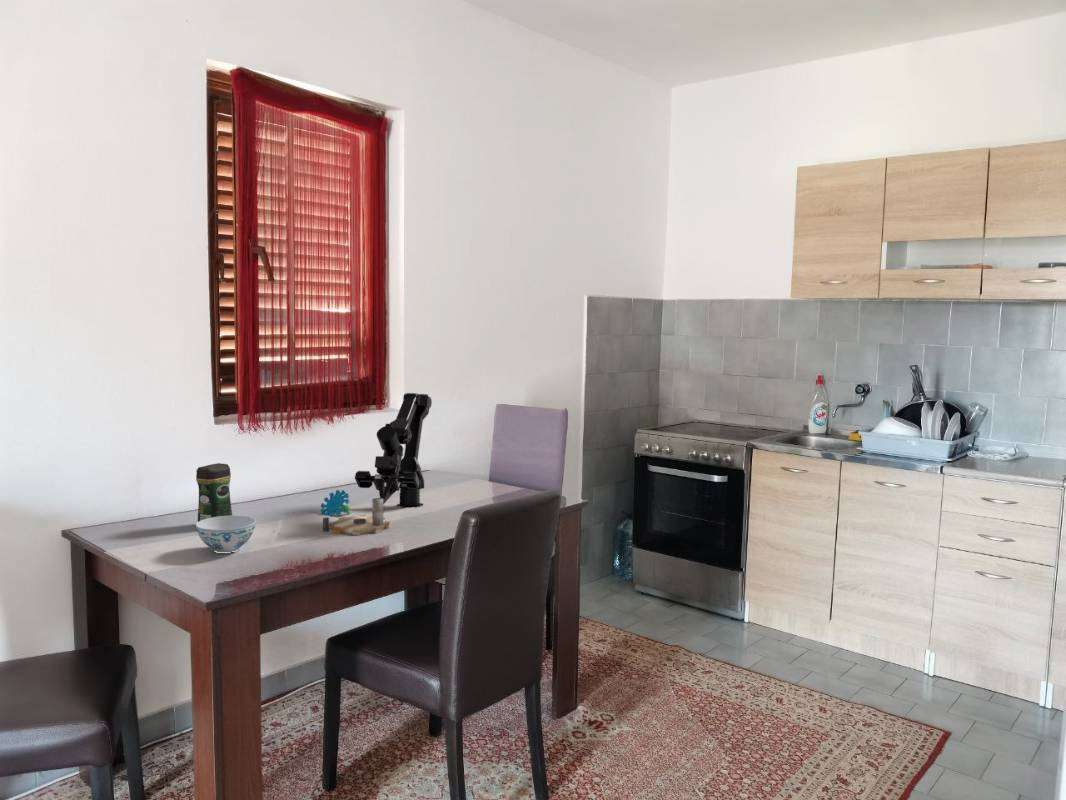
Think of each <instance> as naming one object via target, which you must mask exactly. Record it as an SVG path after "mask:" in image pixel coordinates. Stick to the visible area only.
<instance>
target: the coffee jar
mask: <svg viewBox="0 0 1066 800" xmlns="http://www.w3.org/2000/svg"><path fill="white" fill-rule="evenodd" d="M231 474H232V473H231V468H230V466H229V464H227V463H222V462H221V463H220V462H219V463H218V462H217V463H212V464H208V465H207V464H206V465H202V466H199V467H198V468H197V469H196V475H195V477H196V478H195V479H196V483H197V487H198V505H197V507H198V508H197V510H198V512H197V522H199V521H201V520H204V519H208V518H213V517H219V516H233V512H232V511H233V510H232V502H231V493H230V482H231V477H232V475H231Z"/></svg>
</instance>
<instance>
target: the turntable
mask: <svg viewBox="0 0 1066 800" xmlns="http://www.w3.org/2000/svg"><path fill="white" fill-rule="evenodd" d="M371 506H372V508H371V511H372V514H371V515H372V516H369V515H368V516H367V515H366V514H364V515H363V514H362V515H361V514H360V515H358V516H357V515H356V516H348V517H346V516H341V517H339V518H338V519H336V520H335V521H329V530H330V529H333V533H335V534H346V535H352V536H360V535H362V534H363V535H364V534H371V533H373V534H374V533H375V534H378V533H382V531H383V530H384V529H389V528H390V525H391V524H390V523H391V522H390V521H389V520H385V517H384V505H383V498H380V497H375V498H372V504H371Z"/></svg>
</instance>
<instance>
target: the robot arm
mask: <svg viewBox="0 0 1066 800" xmlns="http://www.w3.org/2000/svg"><path fill="white" fill-rule="evenodd" d="M402 399H403V400H402V403H401V404H400V405H401V406H400V408H399V410H398V412H397V415H396V418H395V419H394V420H392V421H391V422H390V423H385V425H384V426H382V427H381V428H379V429H378V430H377V432H376V438H377V441H378V443H379V445H380V448H381V450H382V451H383V454H382V456H379V455H377V456H375V460H374V468H376V473H375V474H374V475H372V474H371V472H370V470H358V471H356V472H355V475H354V479H355V482H356V484H357V486H358V487H359V488H360V489H370V488H372V487H373V484H374V487H375V489H376V491H378V494H379V498H383V506H385V503H386V502H387V501H388V500H389V499H390V497H392V495H393V494H394V495H395V493H396V492H397V491H399V503H397V504H396V506H397V507H400V506H402V507H401V508H406V507H407V508H406V509H408V508H409V509H410V508H412V507H414V508H417V507H416V506H418V507H421V506H424V503H422V502H420V499H421V498H420V497H421V496H420V495H421V489H422V490H423V489H425V478H424V476H423V472H422V467H421V465H420V463H419V460H418V459H419V452H420V451H419V450H420V445H421V439H422V438H421V437H422V430H423V423H424V420H425V419H426V417H427V416H428V415H429V413H430V409H431V407H432V401H433V399H432V397H430V396H429V394H427V393H416V392H406V393H404V394H403V397H402ZM402 445H404V447H403V446H402ZM420 505H421V506H420Z"/></svg>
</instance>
